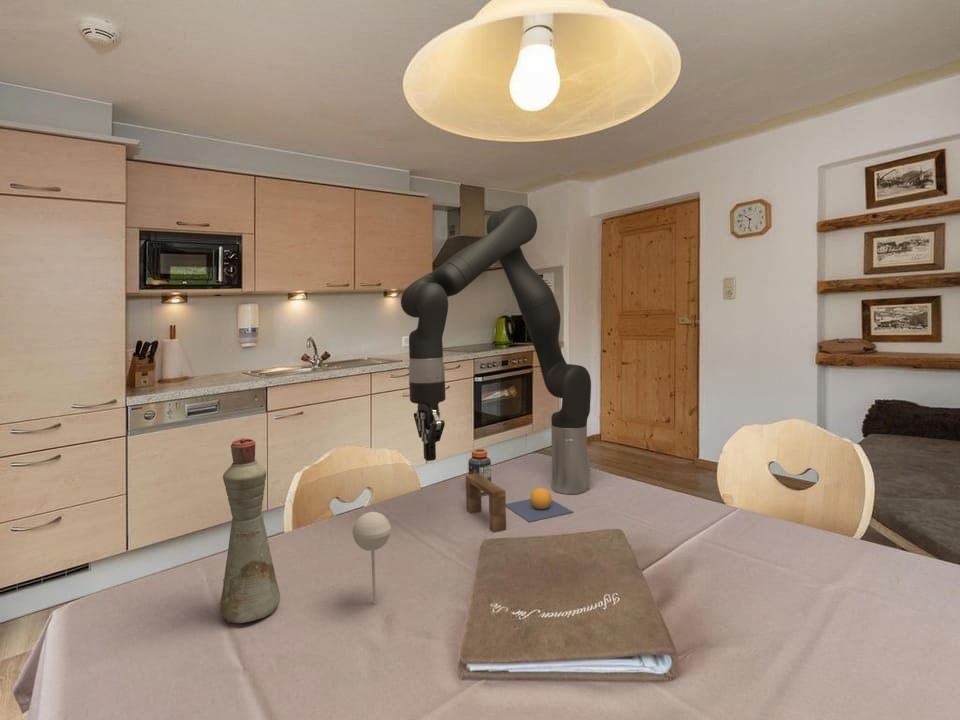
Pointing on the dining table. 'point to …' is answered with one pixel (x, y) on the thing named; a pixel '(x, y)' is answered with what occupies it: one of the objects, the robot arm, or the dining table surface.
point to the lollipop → (372, 536)
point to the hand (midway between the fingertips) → (429, 459)
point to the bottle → (247, 542)
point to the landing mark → (537, 510)
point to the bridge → (496, 500)
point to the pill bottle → (480, 464)
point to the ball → (540, 498)
